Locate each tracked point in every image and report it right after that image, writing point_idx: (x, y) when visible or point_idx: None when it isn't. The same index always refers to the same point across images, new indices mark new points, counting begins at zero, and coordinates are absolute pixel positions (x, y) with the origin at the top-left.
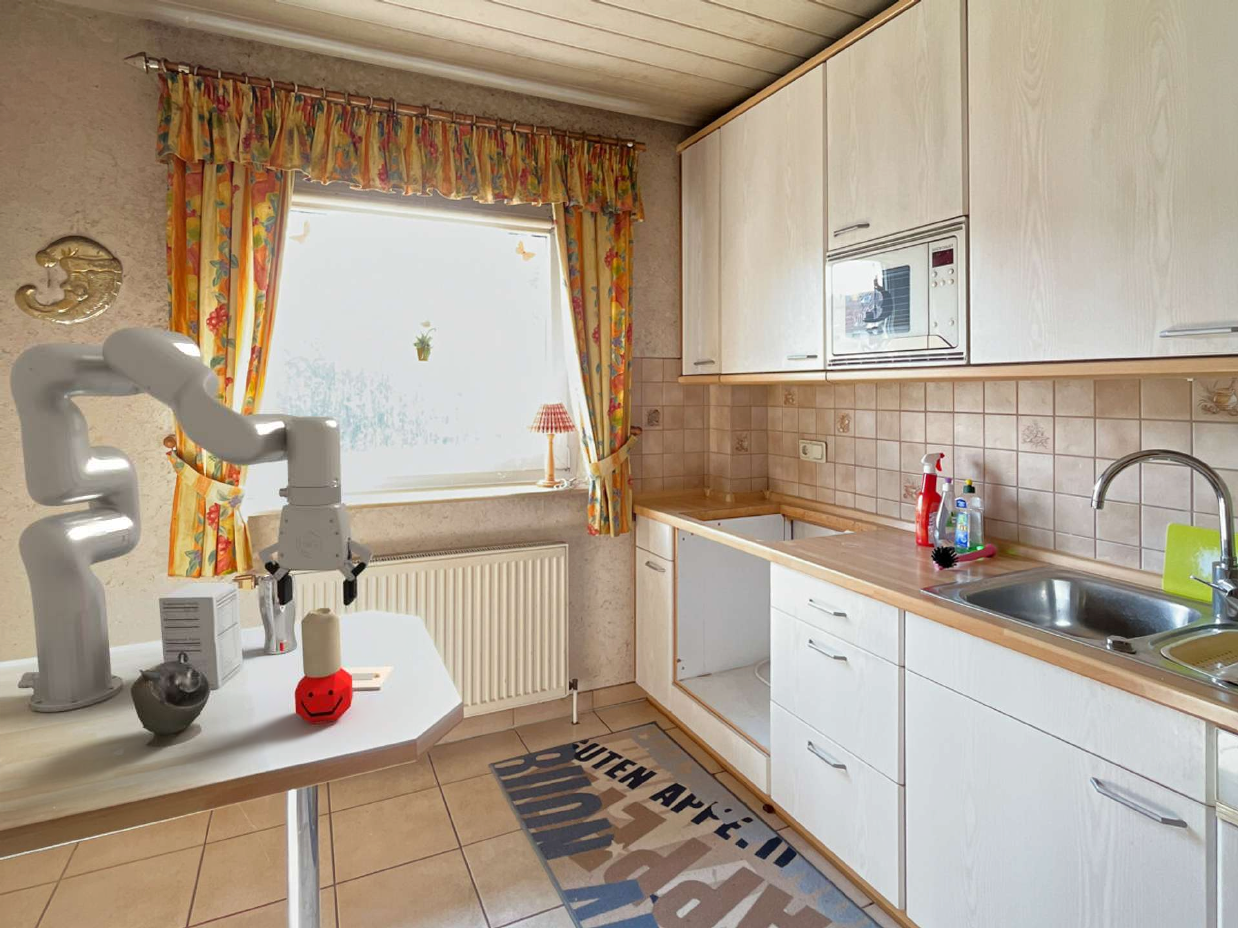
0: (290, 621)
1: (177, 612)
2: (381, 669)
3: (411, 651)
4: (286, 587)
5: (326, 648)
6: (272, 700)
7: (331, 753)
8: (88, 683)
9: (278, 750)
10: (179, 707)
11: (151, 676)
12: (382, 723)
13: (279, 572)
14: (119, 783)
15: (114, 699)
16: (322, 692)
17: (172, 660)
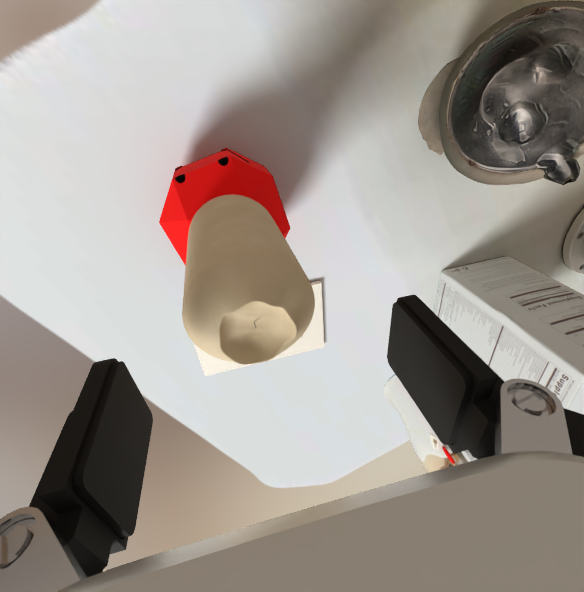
0: (408, 420)
1: None
2: (219, 363)
3: (212, 421)
4: (434, 368)
5: (199, 234)
6: (347, 247)
7: (99, 24)
8: None
9: (235, 40)
10: (488, 40)
11: None
12: (80, 183)
13: (542, 428)
14: None
15: (564, 220)
16: (199, 172)
17: (537, 279)
